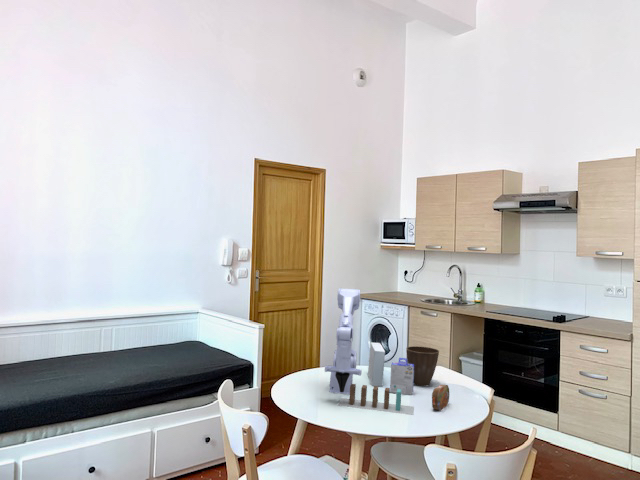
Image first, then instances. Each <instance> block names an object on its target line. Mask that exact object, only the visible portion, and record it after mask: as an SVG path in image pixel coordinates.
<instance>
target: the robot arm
mask: <svg viewBox="0 0 640 480" xmlns="http://www.w3.org/2000/svg"><path fill="white" fill-rule="evenodd" d="M360 300H361V290H360V289H359V288H358V289H356V288H355V289H354V288H342V287H339V288H337V307H338V308H339V310H342V313H341V314H340V315H339V318H338V319H339V320H338V327H337V328H336V336H335V337H336V338H335V339H336V349H335V351H334V354H333V358H332V359H333V361H332V366H331V365H325V366H324V372H325V373H328V372H330V378H329V391H328V392H329V393H331V394H332V393H334V394H340V395H341V394H343V395H348V396H350V386H351V384H353V379H354V375H356V376H362V369H360V368H357V351H356V350H355V349H353V348H352V345H353V344H352V342H353V341H354V340H353V339H354V313H355V311H357V310H359V307H360V302H361V301H360Z"/></svg>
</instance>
